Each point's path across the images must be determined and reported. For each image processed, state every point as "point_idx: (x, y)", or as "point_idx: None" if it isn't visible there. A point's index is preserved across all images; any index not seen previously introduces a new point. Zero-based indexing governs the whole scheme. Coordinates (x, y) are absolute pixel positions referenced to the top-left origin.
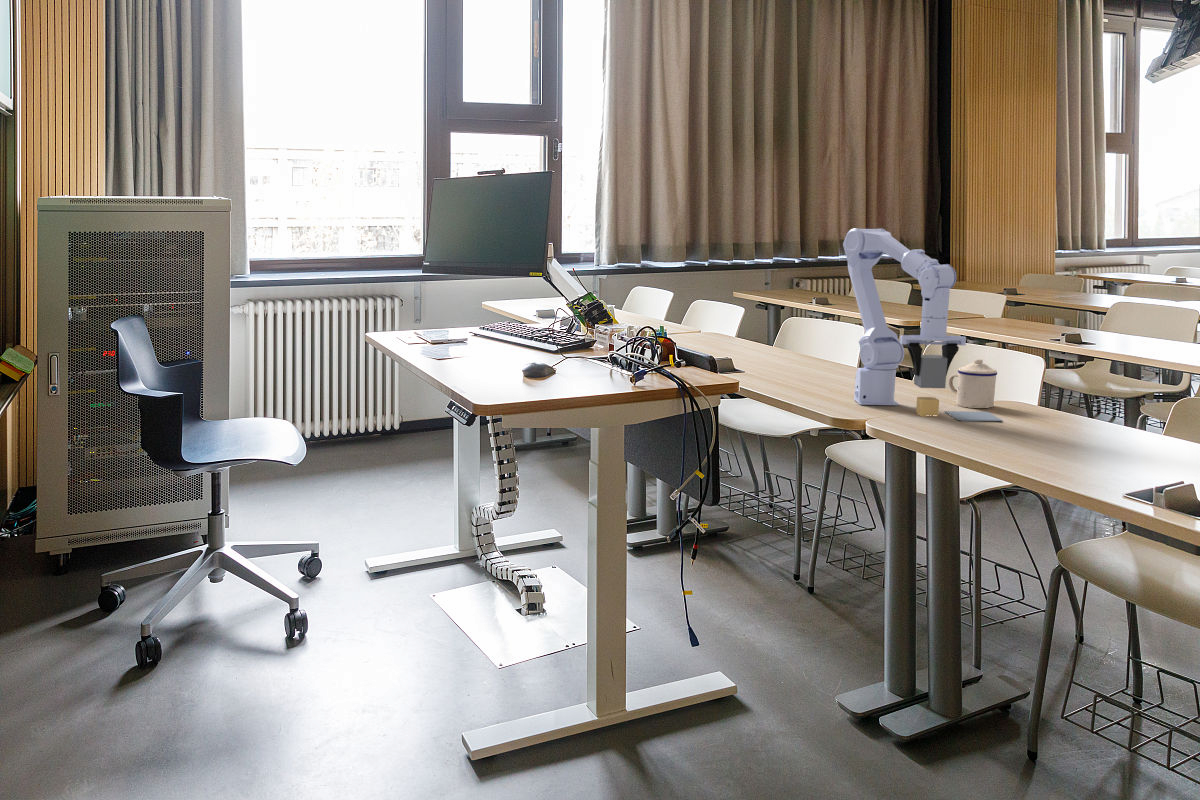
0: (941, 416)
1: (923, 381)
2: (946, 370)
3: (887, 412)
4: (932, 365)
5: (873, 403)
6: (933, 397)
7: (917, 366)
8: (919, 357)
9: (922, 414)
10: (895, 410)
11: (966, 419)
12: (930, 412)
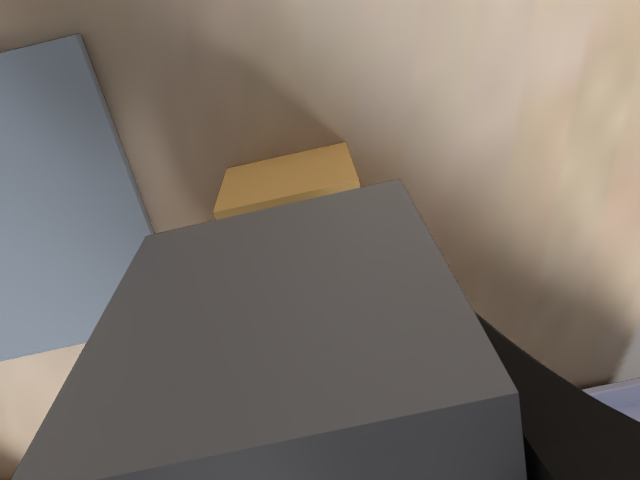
0: (203, 185)
1: (385, 211)
2: (85, 347)
3: (556, 205)
4: (296, 345)
5: (611, 389)
6: None
7: (517, 359)
8: (567, 452)
9: (334, 148)
10: (491, 288)
11: (13, 54)
12: (279, 166)
